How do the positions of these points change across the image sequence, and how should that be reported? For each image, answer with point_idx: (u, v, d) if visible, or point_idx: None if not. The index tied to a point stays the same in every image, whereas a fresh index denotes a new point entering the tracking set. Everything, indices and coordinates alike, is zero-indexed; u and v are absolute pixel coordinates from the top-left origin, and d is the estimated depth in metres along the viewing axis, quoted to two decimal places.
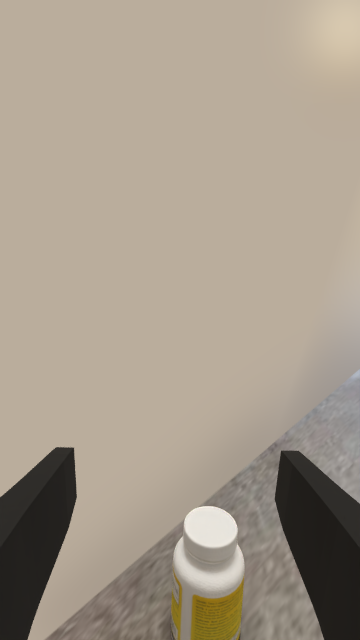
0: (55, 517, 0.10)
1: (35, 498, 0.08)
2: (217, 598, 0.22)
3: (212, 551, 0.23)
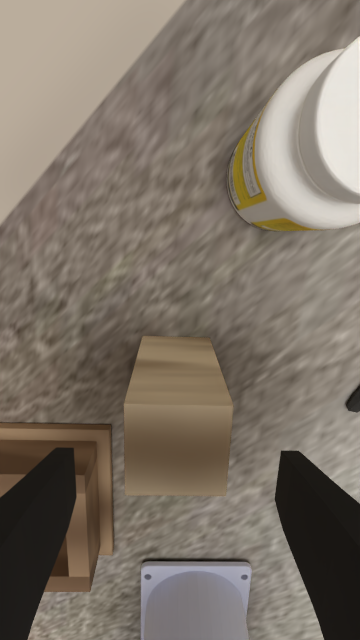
0: (55, 517, 0.10)
1: (35, 498, 0.08)
2: (329, 229, 0.12)
3: None
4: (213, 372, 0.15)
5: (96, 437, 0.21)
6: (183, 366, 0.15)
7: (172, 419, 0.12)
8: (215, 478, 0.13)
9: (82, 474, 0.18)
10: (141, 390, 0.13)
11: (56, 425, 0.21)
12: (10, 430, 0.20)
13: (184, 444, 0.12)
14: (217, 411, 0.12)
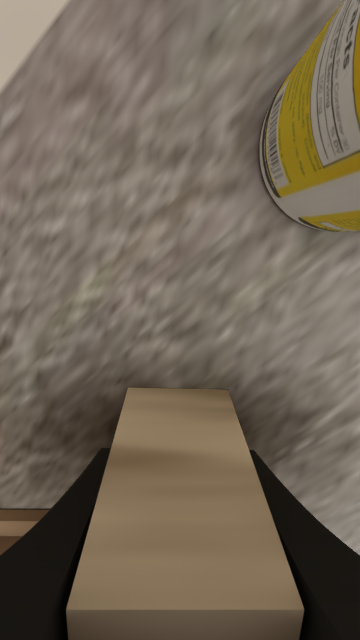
0: None
1: (96, 499, 0.08)
2: None
3: None
4: (244, 482, 0.08)
5: None
6: (191, 466, 0.09)
7: (172, 635, 0.06)
8: None
9: None
10: (111, 549, 0.07)
11: (4, 512, 0.14)
12: None
13: None
14: (269, 619, 0.06)
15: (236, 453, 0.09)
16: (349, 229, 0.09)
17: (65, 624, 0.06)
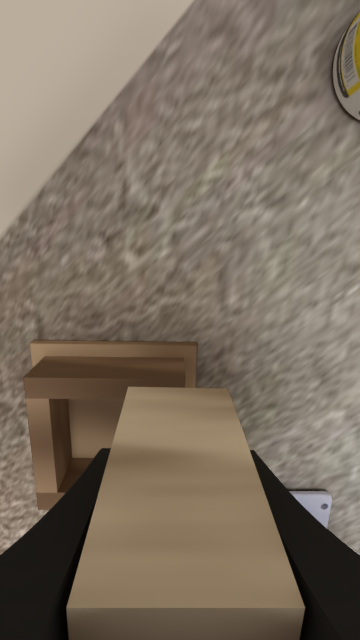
0: None
1: (96, 499, 0.08)
2: None
3: None
4: (244, 480, 0.08)
5: (184, 353, 0.20)
6: (191, 465, 0.09)
7: (172, 633, 0.06)
8: None
9: (183, 378, 0.17)
10: (111, 547, 0.07)
11: (141, 342, 0.20)
12: (96, 346, 0.20)
13: None
14: (270, 618, 0.06)
15: (236, 452, 0.09)
16: None
17: (65, 624, 0.06)
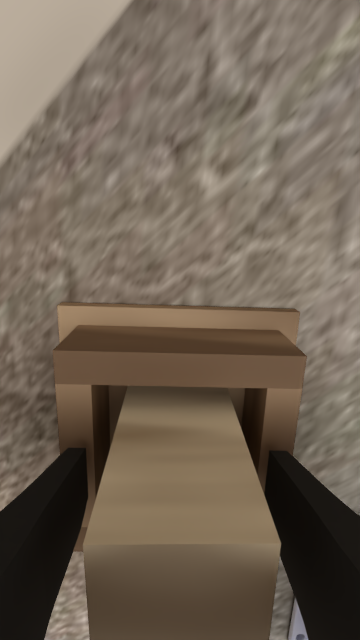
0: (69, 517, 0.10)
1: (51, 498, 0.08)
2: None
3: None
4: (235, 450, 0.10)
5: (280, 324, 0.14)
6: (188, 438, 0.10)
7: (171, 567, 0.07)
8: None
9: (302, 355, 0.11)
10: (119, 501, 0.08)
11: (217, 307, 0.14)
12: (153, 312, 0.14)
13: (193, 604, 0.07)
14: (252, 553, 0.07)
15: (228, 428, 0.11)
16: None
17: (3, 624, 0.06)
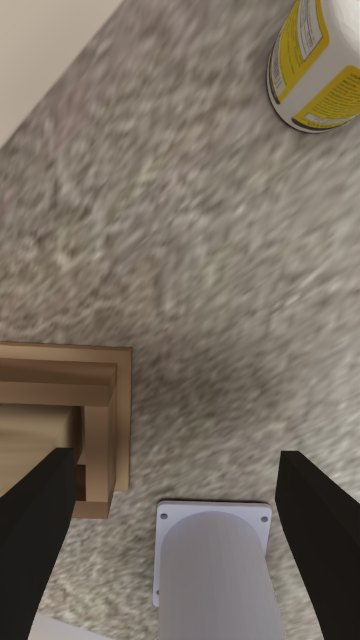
0: (55, 517, 0.10)
1: (35, 498, 0.08)
2: None
3: None
4: (42, 446, 0.15)
5: (117, 359, 0.20)
6: (18, 438, 0.16)
7: None
8: None
9: (105, 385, 0.17)
10: None
11: (75, 346, 0.20)
12: (26, 349, 0.19)
13: None
14: None
15: (50, 432, 0.16)
16: (322, 117, 0.15)
17: None
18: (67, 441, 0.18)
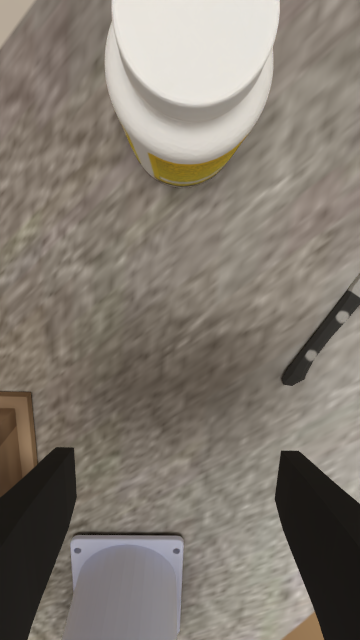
0: (55, 517, 0.10)
1: (35, 498, 0.08)
2: (194, 164, 0.12)
3: (189, 110, 0.08)
4: None
5: (14, 404, 0.20)
6: None
7: None
8: None
9: None
10: None
11: None
12: None
13: None
14: None
15: None
16: (173, 180, 0.15)
17: None
18: None
